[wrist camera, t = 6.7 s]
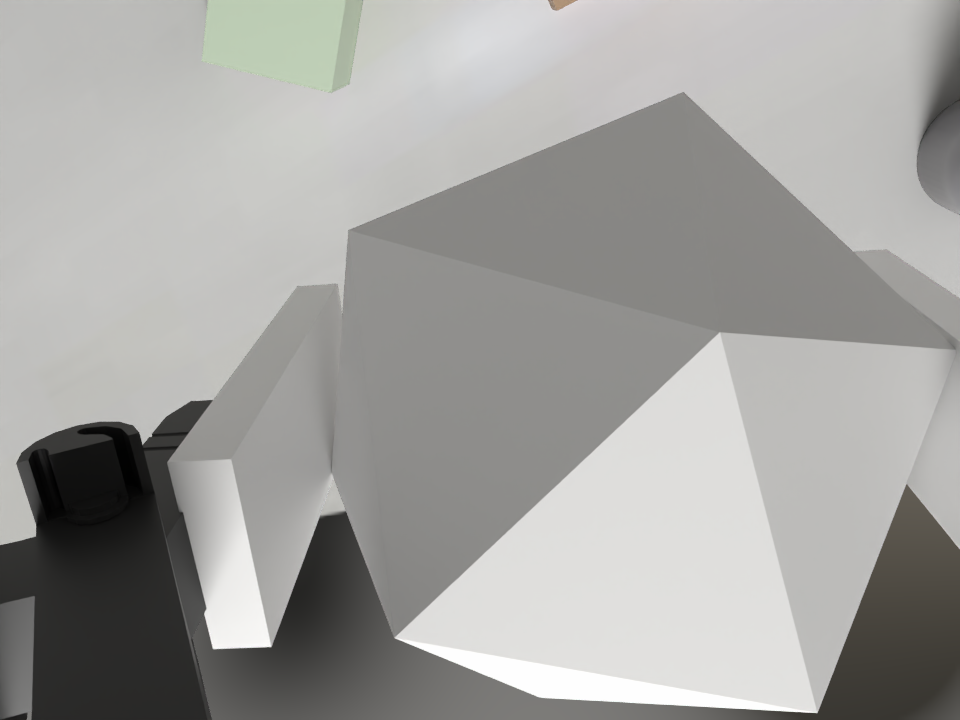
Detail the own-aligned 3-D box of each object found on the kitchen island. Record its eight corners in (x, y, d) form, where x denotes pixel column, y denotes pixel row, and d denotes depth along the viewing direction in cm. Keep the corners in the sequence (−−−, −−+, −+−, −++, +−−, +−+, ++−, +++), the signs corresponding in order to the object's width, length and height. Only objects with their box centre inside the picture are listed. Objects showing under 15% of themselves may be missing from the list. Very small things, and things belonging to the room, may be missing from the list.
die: (326, 447, 18) (535, 927, 13) (161, 114, 12) (451, 819, 6) (652, 297, 20) (971, 667, 14) (674, -76, 13) (1299, 346, 7)
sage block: (233, 55, 36) (201, 61, 33) (248, -74, 34) (215, -83, 31) (350, 83, 37) (331, 92, 33) (370, -43, 35) (353, -48, 31)
